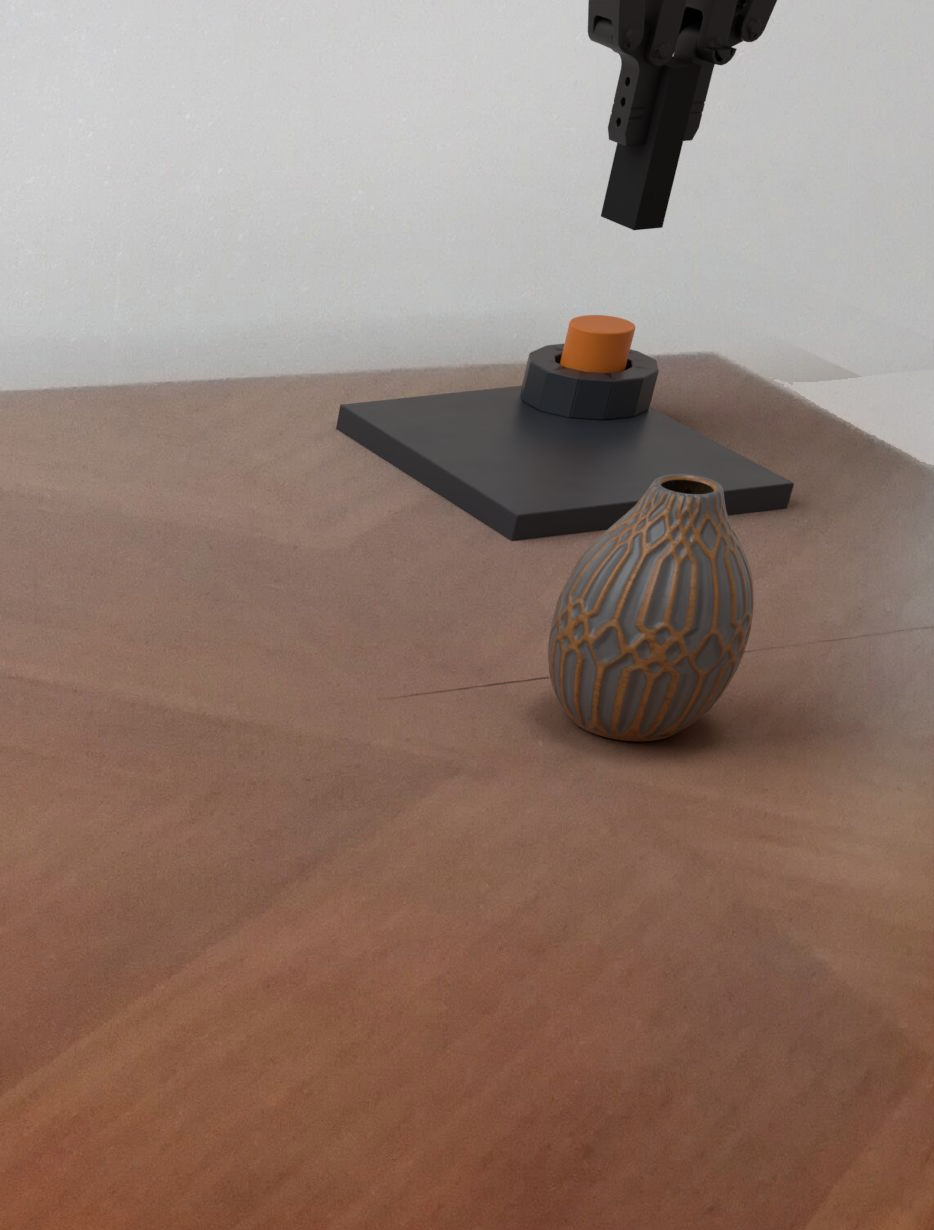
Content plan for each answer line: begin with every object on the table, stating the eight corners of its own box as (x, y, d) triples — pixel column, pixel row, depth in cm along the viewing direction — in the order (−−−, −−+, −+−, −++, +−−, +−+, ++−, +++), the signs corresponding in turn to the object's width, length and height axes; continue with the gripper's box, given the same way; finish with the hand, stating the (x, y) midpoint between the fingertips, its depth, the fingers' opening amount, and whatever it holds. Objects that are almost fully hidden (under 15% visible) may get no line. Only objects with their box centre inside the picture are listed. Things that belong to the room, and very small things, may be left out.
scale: (795, 509, 111) (816, 440, 109) (511, 543, 108) (527, 472, 106) (596, 402, 123) (612, 338, 121) (335, 430, 120) (346, 364, 118)
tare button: (636, 375, 117) (648, 330, 116) (581, 381, 117) (592, 335, 115) (601, 357, 119) (612, 312, 118) (546, 363, 119) (557, 317, 117)
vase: (497, 724, 94) (553, 487, 88) (581, 670, 97) (640, 440, 92) (670, 775, 90) (740, 532, 84) (750, 718, 94) (823, 481, 88)
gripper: (863, -438, 102) (706, 192, 118) (586, -428, 100) (462, 214, 115) (986, -430, 97) (804, 230, 112) (696, -419, 94) (550, 254, 110)
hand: (631, 221), depth 114 cm, fingers closed
